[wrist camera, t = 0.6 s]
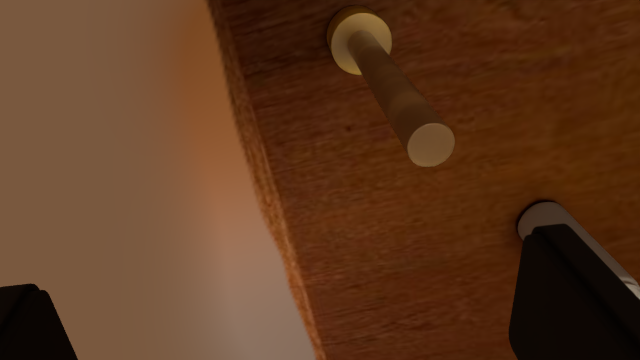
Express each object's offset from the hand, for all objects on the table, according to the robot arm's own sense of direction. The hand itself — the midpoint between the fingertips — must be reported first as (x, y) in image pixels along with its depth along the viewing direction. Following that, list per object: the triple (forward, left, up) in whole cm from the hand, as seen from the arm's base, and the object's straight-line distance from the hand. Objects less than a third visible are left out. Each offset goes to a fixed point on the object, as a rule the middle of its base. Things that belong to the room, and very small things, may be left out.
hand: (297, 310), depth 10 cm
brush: (0, +6, -30) cm, 31 cm away
